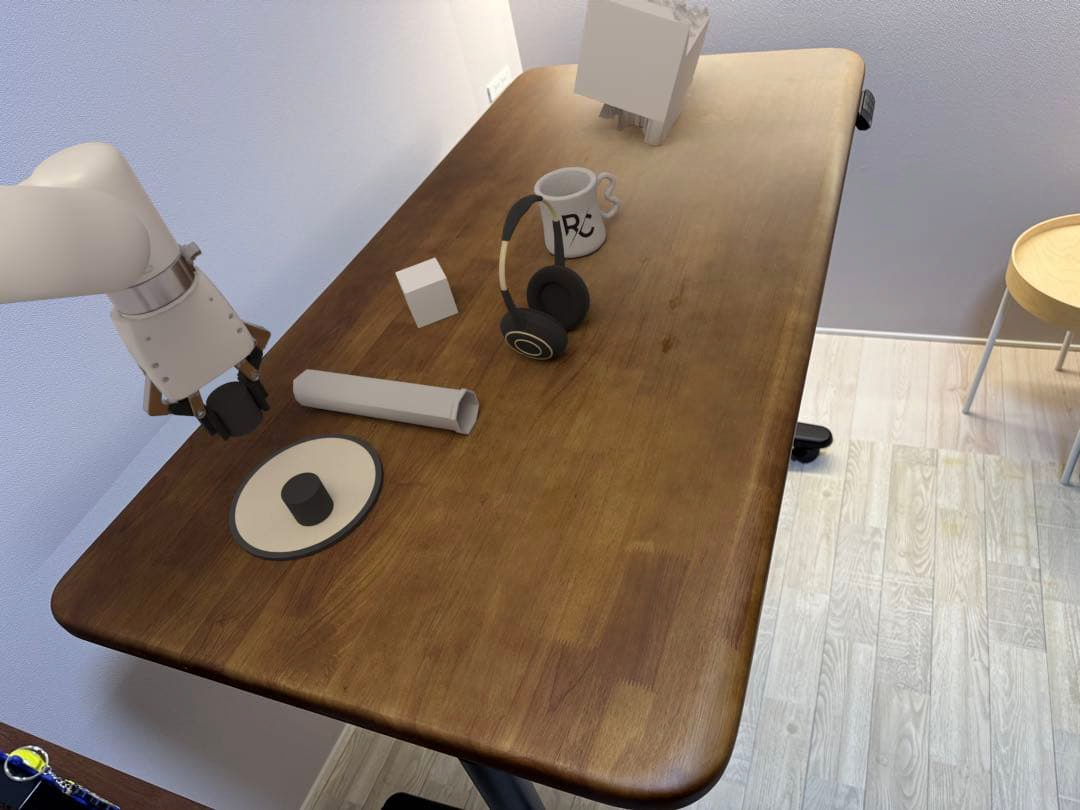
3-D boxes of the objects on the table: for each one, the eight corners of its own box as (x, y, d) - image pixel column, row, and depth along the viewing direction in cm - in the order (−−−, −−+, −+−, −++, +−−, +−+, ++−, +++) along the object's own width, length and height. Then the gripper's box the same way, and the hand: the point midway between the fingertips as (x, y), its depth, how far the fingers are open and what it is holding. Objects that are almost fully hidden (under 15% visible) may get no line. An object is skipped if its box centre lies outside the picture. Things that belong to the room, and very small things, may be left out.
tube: (277, 395, 97) (450, 422, 87) (295, 358, 99) (466, 380, 89) (302, 414, 101) (469, 442, 91) (318, 378, 103) (483, 402, 93)
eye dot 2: (309, 533, 84) (294, 510, 81) (288, 514, 87) (273, 491, 84) (341, 506, 86) (327, 483, 83) (320, 489, 88) (306, 466, 86)
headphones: (497, 373, 98) (454, 237, 84) (546, 302, 106) (515, 168, 93) (558, 384, 94) (524, 244, 80) (604, 309, 103) (580, 171, 89)
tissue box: (604, 88, 147) (632, -54, 127) (684, 115, 144) (725, -26, 124) (564, 142, 134) (588, -6, 115) (651, 172, 132) (690, 26, 112)
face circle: (282, 590, 80) (279, 587, 79) (204, 509, 91) (201, 505, 90) (414, 479, 87) (412, 475, 87) (328, 416, 98) (326, 413, 98)
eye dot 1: (236, 443, 81) (217, 416, 79) (216, 426, 84) (198, 400, 81) (270, 417, 83) (254, 391, 80) (251, 402, 86) (234, 375, 83)
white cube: (458, 312, 109) (446, 277, 105) (418, 328, 108) (404, 293, 104) (447, 291, 113) (435, 257, 109) (408, 306, 112) (394, 272, 108)
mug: (562, 268, 112) (549, 207, 105) (536, 241, 118) (522, 181, 111) (637, 236, 114) (629, 173, 107) (608, 211, 120) (599, 151, 113)
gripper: (211, 224, 77) (289, 362, 89) (49, 319, 70) (157, 454, 82) (248, 244, 72) (324, 386, 85) (78, 348, 65) (188, 486, 78)
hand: (241, 418), depth 83 cm, fingers closed on eye dot 1, 4 cm apart
